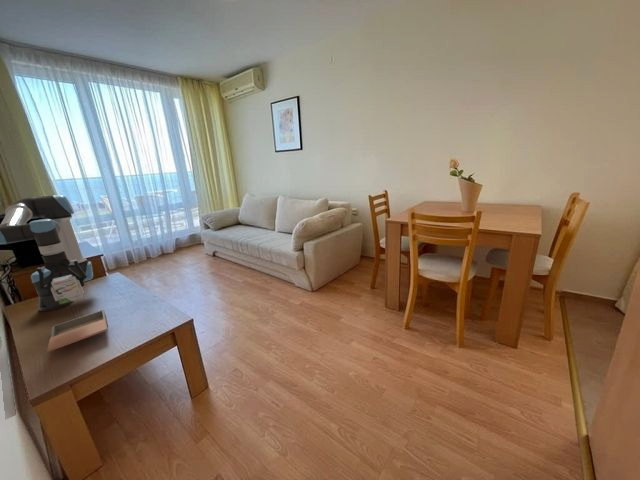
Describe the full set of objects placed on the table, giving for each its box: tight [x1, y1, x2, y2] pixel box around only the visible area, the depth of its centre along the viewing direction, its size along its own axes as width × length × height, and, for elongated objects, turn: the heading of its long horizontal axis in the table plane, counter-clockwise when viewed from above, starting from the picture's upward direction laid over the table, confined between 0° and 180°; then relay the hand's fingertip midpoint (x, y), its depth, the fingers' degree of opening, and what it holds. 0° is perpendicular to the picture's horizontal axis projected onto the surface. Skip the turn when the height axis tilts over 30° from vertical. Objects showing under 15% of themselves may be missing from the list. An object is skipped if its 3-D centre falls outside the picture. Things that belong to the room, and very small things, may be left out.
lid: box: [46, 319, 108, 353], centre depth 119 cm, size 13×20×1 cm, turn 133°
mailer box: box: [50, 309, 109, 338], centre depth 129 cm, size 13×20×4 cm, turn 133°
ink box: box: [51, 275, 84, 304], centre depth 123 cm, size 8×5×12 cm, turn 135°
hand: (70, 296), depth 124 cm, fingers closed on ink box, 9 cm apart
